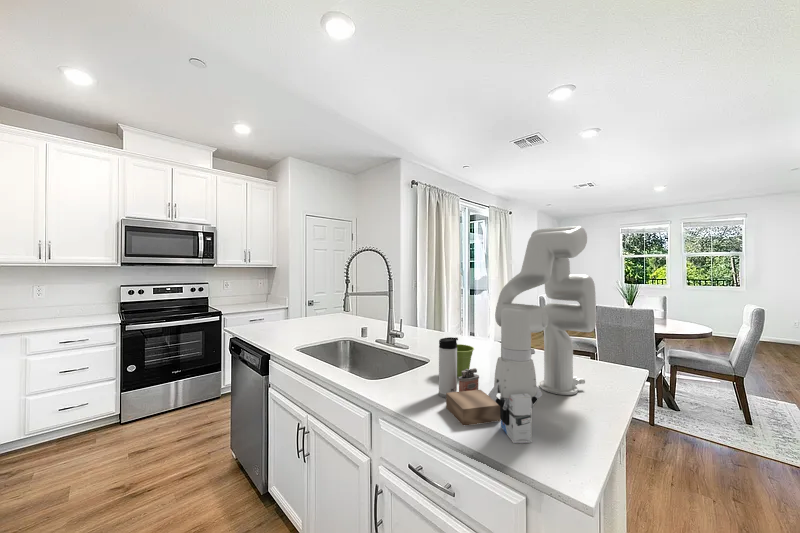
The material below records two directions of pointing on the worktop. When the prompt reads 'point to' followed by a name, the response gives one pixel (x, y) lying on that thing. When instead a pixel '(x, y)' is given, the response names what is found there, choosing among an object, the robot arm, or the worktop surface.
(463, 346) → the plant pot
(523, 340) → the robot arm
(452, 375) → the travel mug
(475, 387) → the lighter
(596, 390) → the worktop surface
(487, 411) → the walnut block
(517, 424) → the ink box
